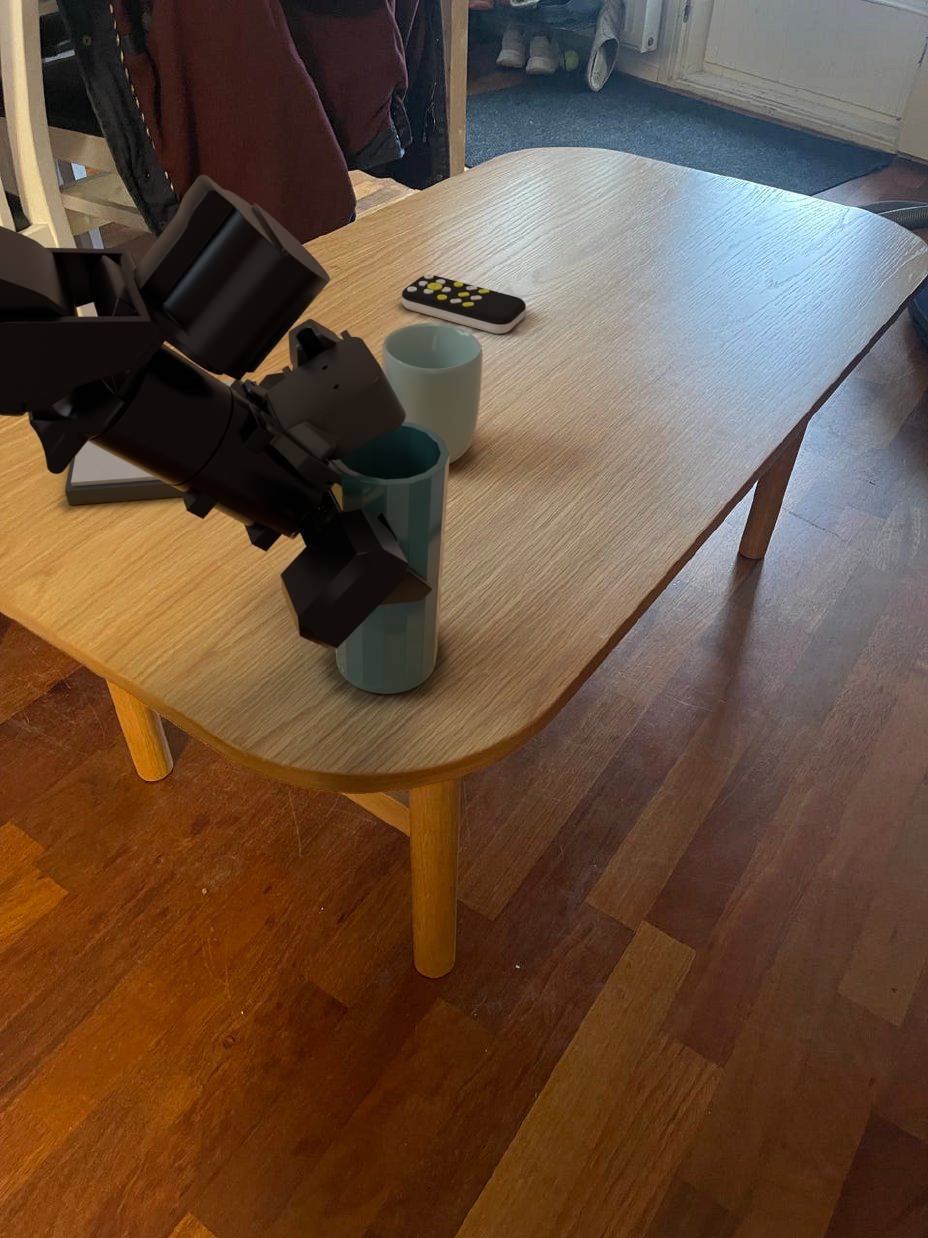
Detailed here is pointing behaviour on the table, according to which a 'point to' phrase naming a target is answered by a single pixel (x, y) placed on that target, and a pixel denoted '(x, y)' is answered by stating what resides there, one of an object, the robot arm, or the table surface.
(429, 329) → the cup
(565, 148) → the table surface
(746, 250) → the table surface
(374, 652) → the tumbler
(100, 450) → the scale
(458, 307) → the remote control
